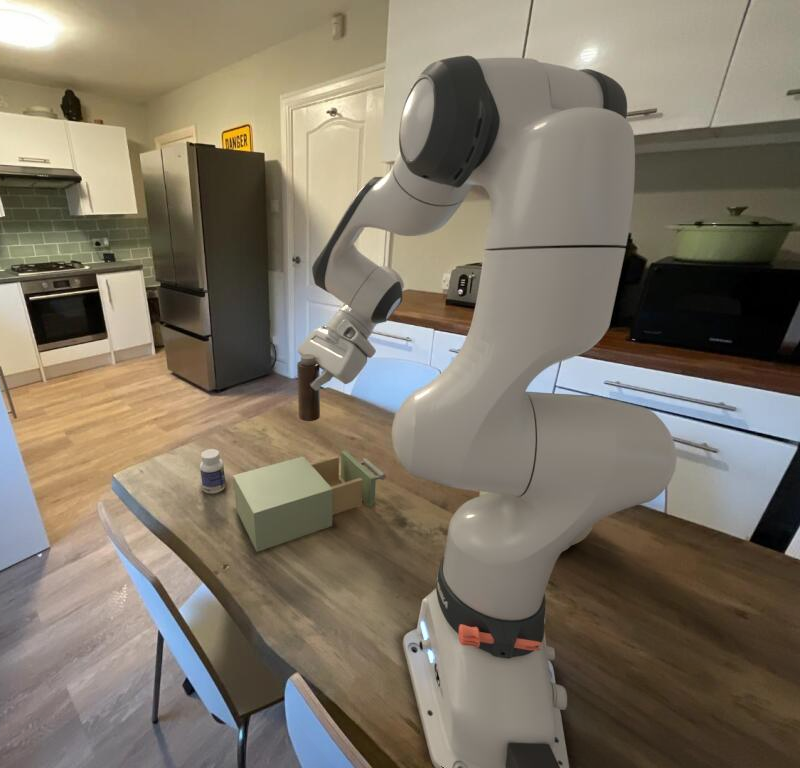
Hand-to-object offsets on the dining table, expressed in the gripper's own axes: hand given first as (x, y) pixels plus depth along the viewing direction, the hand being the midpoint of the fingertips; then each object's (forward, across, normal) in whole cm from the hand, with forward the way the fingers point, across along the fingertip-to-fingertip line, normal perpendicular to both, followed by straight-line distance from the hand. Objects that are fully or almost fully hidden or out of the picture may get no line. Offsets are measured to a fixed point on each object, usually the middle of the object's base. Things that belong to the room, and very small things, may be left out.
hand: (306, 383), depth 89 cm
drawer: (+15, +12, +16) cm, 25 cm away
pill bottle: (+32, -4, +1) cm, 32 cm away
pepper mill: (+5, 0, +6) cm, 8 cm away
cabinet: (+24, +13, +8) cm, 29 cm away
